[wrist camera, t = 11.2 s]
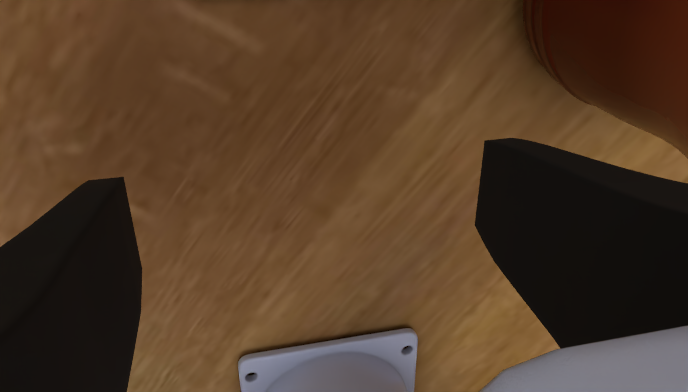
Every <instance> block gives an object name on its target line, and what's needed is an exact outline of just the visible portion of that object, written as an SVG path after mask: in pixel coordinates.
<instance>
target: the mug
mask: <svg viewBox="0 0 688 392" xmlns="http://www.w3.org/2000/svg"><path fill="white" fill-rule="evenodd" d="M523 21H524V27H525V32H526V36H527V39H528V42H529V45H530V47H531V49H532V51H533V53H534V55H535V57H536V58H537V60H538V61H539V63H540V64H541V65H542V66H543V67H544V68H545V69H546V71H547V72H548V73H549V74H550V76H551V77H552V78H553V79H554V80H555V81H556V82H557V83H559V84H560V85H561V86H563V87H564V88H565V89H566V90H567V91H568V92H569V93H570V94H572V95H573V96H574V97H576V98H577V99H579V100H581V101H583V102H585V103H587V104H590V105H592V106H596V107H598V108H600V109H601V110H603V111H605V112H607V113H609V114H611V115H613V116H615V117H616V118H618V119H620V120H622V121H624V122H626V123H629V124H631V125H633V126H635V127H637V128H639V129H642V130H644V131H646V132H648V133H651V134H653V135H655V136H657V137H659V138H661V139H663V140H665V141H666V142H668V143H670V144H671V145H673V146H674V147H675V148H677V149H678V150H679V151H680V152H681V153H682V154H684V155H685V156H686V157H687V158H688V0H523Z"/></svg>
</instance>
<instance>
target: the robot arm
mask: <svg viewBox="0 0 688 392" xmlns="http://www.w3.org/2000/svg"><path fill="white" fill-rule="evenodd" d="M475 226H476V228H477V230H478V232H479V234H480V236H481V238H482V240H483V242H484V244H485V246H486V248H487V249H488V251H489V253H490V255H491V256H492V258H493V260H494V262H495V263H496V264H497V266H498V267H499V268H500V270H501V271H502V272H503V274H504V275H505V276H506V278H507V279H508V280H509V282H510V283H511V284H512V286H513V287H514V288H515V289H516V291H517V292H518V293H519V295H520V296H521V297H522V298H523V300H524V301H525V302H526V304H527V305H528V306H529V307H530V309H531V310H532V311H533V312H534V314H535V315H536V316H537V318H538V319H539V320H540V321H541V323H542V324H543V325H544V327H545V328H546V329H547V330H548V332H549V333H550V334H551V336H552V337H553V338H554V340H555V341H556V343H557V344H558V345H559V347H560V348H561V349H556V350H554V351H551V352H548V353H546V354H543V355H541V356H538V357H536V358H533V359H530V360H528V361H525V362H523V363H520V364H518V365H515V366H512V367H510V368H507V369H505V370H503V371H502V372H501V373H499V374H498V375H497V376H496V377H495V378H494V379H493V380H491V381H490V382H489V383H488V384H487V385H486V386H485V387H483V388H482V389H481V390H480V391H479V392H688V183H682V182H677V181H673V180H668V179H664V178H660V177H655V176H652V175H648V174H644V173H640V172H636V171H633V170H629V169H625V168H621V167H618V166H615V165H611V164H608V163H604V162H601V161H597V160H594V159H591V158H588V157H584V156H581V155H578V154H575V153H571V152H568V151H565V150H561V149H558V148H555V147H551V146H548V145H544V144H540V143H536V142H532V141H528V140H523V139H516V138H506V139H496V140H486V141H485V143H484V151H483V160H482V168H481V177H480V185H479V194H478V203H477V211H476V220H475ZM141 294H142V266H141V261H140V256H139V251H138V246H137V241H136V237H135V232H134V227H133V222H132V217H131V212H130V207H129V202H128V197H127V192H126V187H125V182H124V177H118V178H108V179H98V180H88V181H87V182H85V183H83V184H82V185H81V186H79V187H78V188H77V189H75V190H74V191H73V192H71V193H70V194H69V195H68V196H67V197H65V198H64V199H63V200H62V201H60V202H59V203H58V204H57V205H55V206H54V207H53V208H52V209H50V210H49V211H48V212H47V213H45V214H44V215H43V216H42V217H40V218H39V219H38V220H37V221H35V222H34V223H33V224H32V225H30V226H29V227H28V228H26V229H25V230H23V231H22V232H21V233H19V234H18V235H17V236H15V237H14V238H12V239H11V240H10V241H8V242H7V243H5V244H4V245H3V246H1V247H0V392H127V387H128V382H129V376H130V371H131V365H132V360H133V354H134V349H135V343H136V337H137V332H138V326H139V320H140V314H141ZM417 344H418V338H417V335H416V333H415V331H414V330H413V329H410V328H404V329H398V330H392V331H386V332H380V333H374V334H367V335H361V336H355V337H349V338H343V339H337V340H331V341H325V342H319V343H313V344H307V345H301V346H295V347H289V348H282V349H276V350H270V351H264V352H258V353H252V354H247V355H244V356H243V357H241V358H240V360H239V361H238V370H239V379H240V387H241V392H414V386H415V372H416V358H417ZM406 346H408V347H407V348H405V349H403V348H404V347H406ZM249 373H255V374H253V375H247V374H249Z"/></svg>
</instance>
